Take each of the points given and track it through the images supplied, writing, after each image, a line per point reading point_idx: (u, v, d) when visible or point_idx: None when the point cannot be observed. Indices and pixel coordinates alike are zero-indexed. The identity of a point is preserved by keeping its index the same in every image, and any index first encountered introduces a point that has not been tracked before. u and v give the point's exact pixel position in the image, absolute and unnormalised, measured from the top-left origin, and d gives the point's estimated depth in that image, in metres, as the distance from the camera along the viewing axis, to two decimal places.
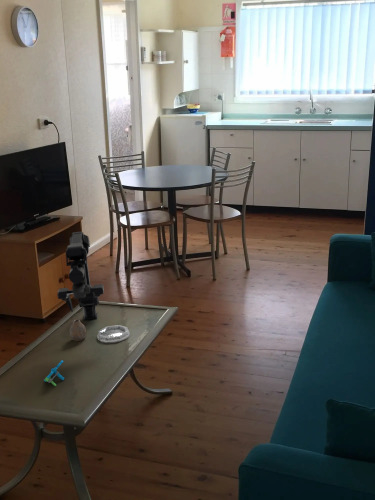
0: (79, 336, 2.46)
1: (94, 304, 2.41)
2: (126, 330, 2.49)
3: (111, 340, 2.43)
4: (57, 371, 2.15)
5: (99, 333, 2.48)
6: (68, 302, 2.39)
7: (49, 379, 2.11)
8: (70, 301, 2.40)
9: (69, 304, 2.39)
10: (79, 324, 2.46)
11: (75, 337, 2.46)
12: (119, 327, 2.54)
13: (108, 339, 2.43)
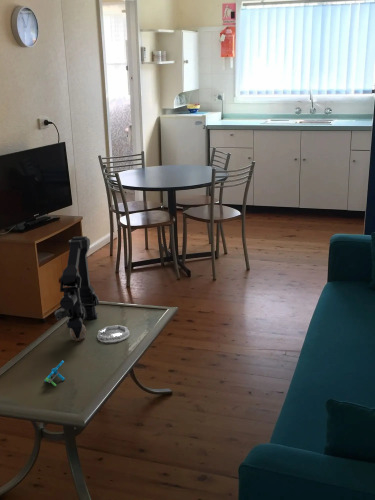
0: (79, 336, 2.46)
1: None
2: (126, 330, 2.49)
3: (111, 340, 2.43)
4: (57, 371, 2.15)
5: (99, 333, 2.48)
6: None
7: (49, 379, 2.11)
8: None
9: None
10: None
11: (75, 337, 2.46)
12: (119, 327, 2.54)
13: (108, 339, 2.43)
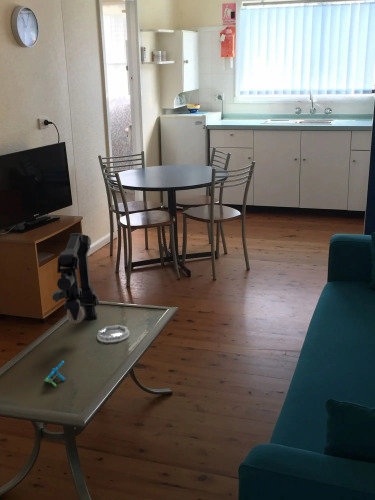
0: (77, 318, 2.44)
1: None
2: (126, 330, 2.49)
3: (111, 340, 2.43)
4: (58, 371, 2.15)
5: (99, 333, 2.48)
6: None
7: (49, 379, 2.11)
8: None
9: None
10: None
11: (72, 319, 2.43)
12: (119, 327, 2.54)
13: (108, 339, 2.43)
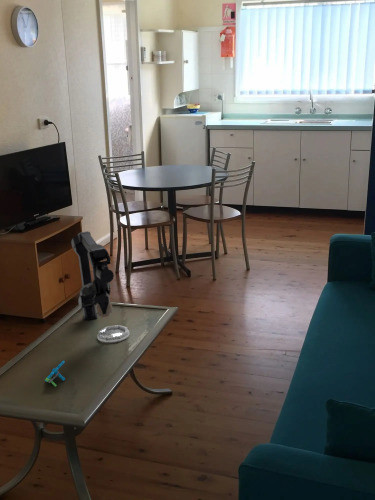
0: (106, 312, 2.43)
1: None
2: (126, 330, 2.49)
3: (111, 340, 2.43)
4: (58, 371, 2.14)
5: (99, 333, 2.48)
6: None
7: (49, 379, 2.11)
8: None
9: None
10: None
11: (101, 313, 2.43)
12: (119, 327, 2.54)
13: (108, 339, 2.43)
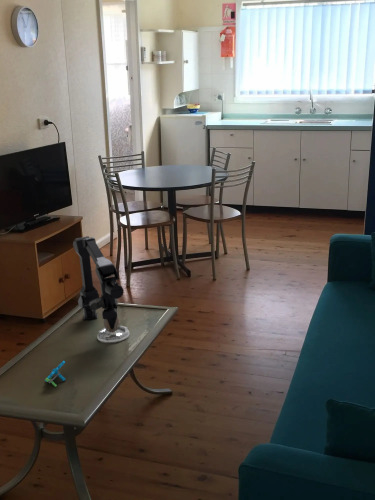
0: (114, 327, 2.46)
1: None
2: (126, 330, 2.49)
3: (111, 340, 2.43)
4: (58, 372, 2.14)
5: (99, 333, 2.48)
6: None
7: (49, 379, 2.11)
8: None
9: None
10: None
11: (109, 328, 2.46)
12: (119, 327, 2.54)
13: (108, 339, 2.43)
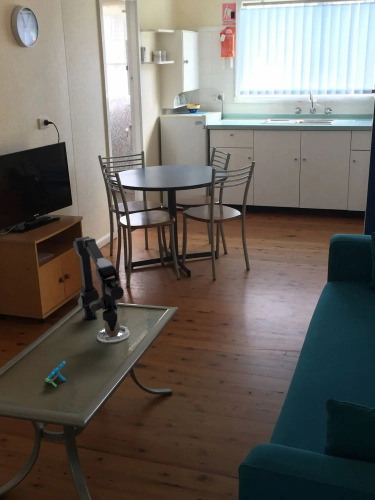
0: (114, 331, 2.46)
1: None
2: (126, 330, 2.49)
3: (111, 340, 2.43)
4: (59, 372, 2.14)
5: (99, 333, 2.48)
6: None
7: (49, 379, 2.10)
8: None
9: None
10: None
11: (110, 331, 2.46)
12: None
13: (108, 339, 2.43)
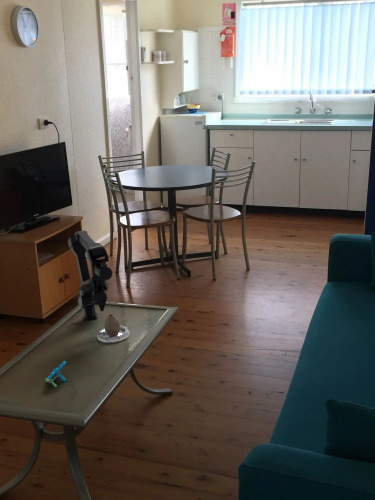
0: (114, 331, 2.46)
1: None
2: (126, 330, 2.49)
3: (111, 340, 2.43)
4: (59, 372, 2.14)
5: (99, 333, 2.48)
6: None
7: (50, 380, 2.10)
8: None
9: None
10: (114, 318, 2.47)
11: (110, 331, 2.46)
12: None
13: (108, 339, 2.43)
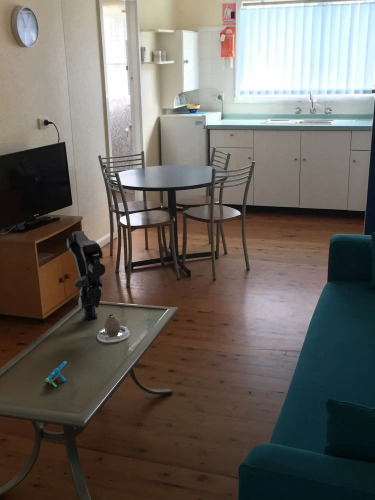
0: (114, 331, 2.46)
1: None
2: (126, 330, 2.49)
3: (111, 340, 2.43)
4: (59, 372, 2.14)
5: (99, 333, 2.48)
6: None
7: (50, 380, 2.10)
8: None
9: None
10: (114, 319, 2.47)
11: (110, 331, 2.46)
12: None
13: (108, 339, 2.43)
